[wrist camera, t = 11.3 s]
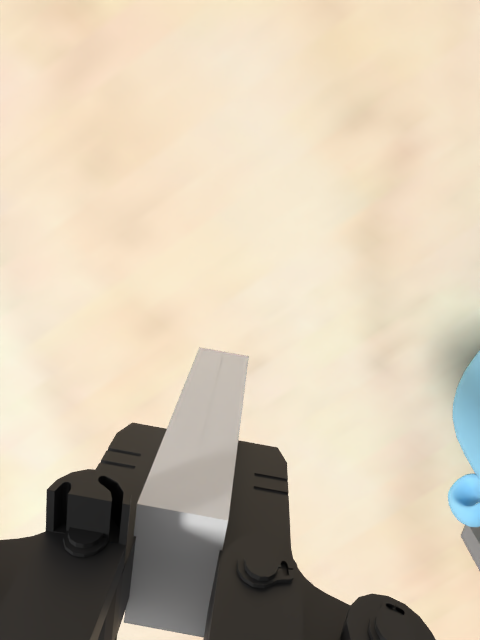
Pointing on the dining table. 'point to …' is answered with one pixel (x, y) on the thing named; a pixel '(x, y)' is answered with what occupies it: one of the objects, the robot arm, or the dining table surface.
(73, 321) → the dining table surface
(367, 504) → the dining table surface
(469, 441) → the decorative pot
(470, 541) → the grey piece
